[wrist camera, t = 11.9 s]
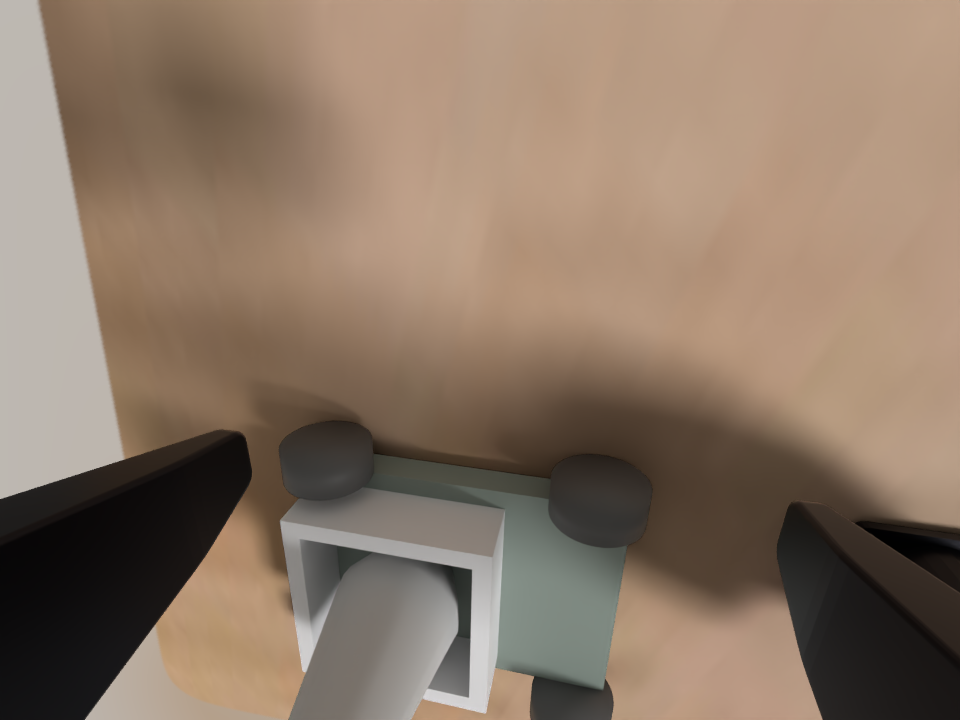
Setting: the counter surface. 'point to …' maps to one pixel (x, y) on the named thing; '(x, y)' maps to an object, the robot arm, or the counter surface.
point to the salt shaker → (380, 641)
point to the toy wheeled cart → (473, 558)
